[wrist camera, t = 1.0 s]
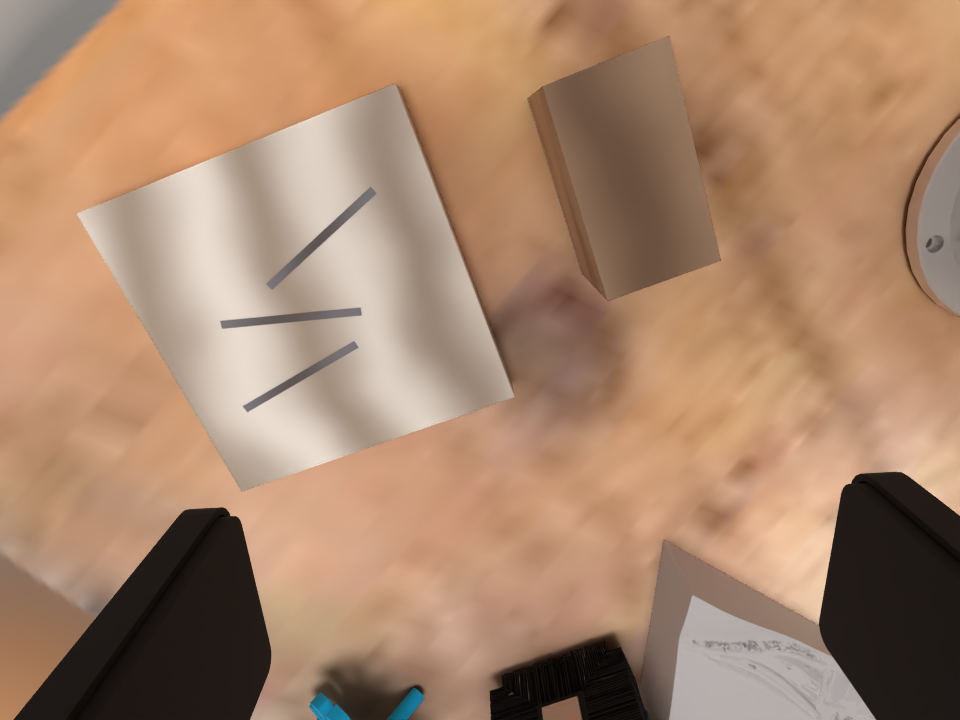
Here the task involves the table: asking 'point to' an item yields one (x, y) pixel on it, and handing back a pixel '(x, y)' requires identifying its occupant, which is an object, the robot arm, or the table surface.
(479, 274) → the table surface
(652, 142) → the block
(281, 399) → the board
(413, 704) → the gear
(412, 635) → the table surface
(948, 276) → the robot arm
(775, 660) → the ramp
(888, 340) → the table surface
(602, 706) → the cpu cooler
